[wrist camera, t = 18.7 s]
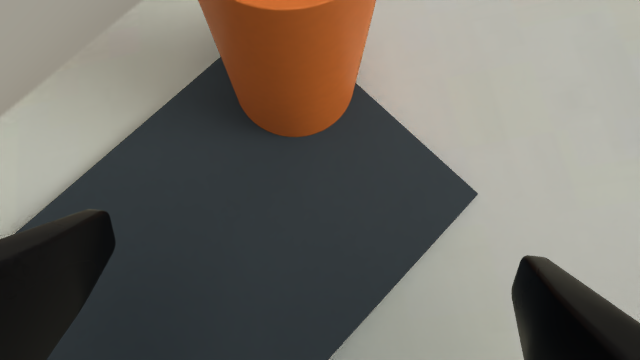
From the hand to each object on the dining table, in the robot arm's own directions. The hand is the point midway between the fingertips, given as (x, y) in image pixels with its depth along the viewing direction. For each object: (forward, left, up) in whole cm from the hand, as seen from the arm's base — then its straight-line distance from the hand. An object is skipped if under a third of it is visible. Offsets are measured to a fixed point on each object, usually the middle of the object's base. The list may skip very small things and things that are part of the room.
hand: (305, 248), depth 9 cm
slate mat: (-4, +1, -11) cm, 11 cm away
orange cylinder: (0, +9, -10) cm, 14 cm away
